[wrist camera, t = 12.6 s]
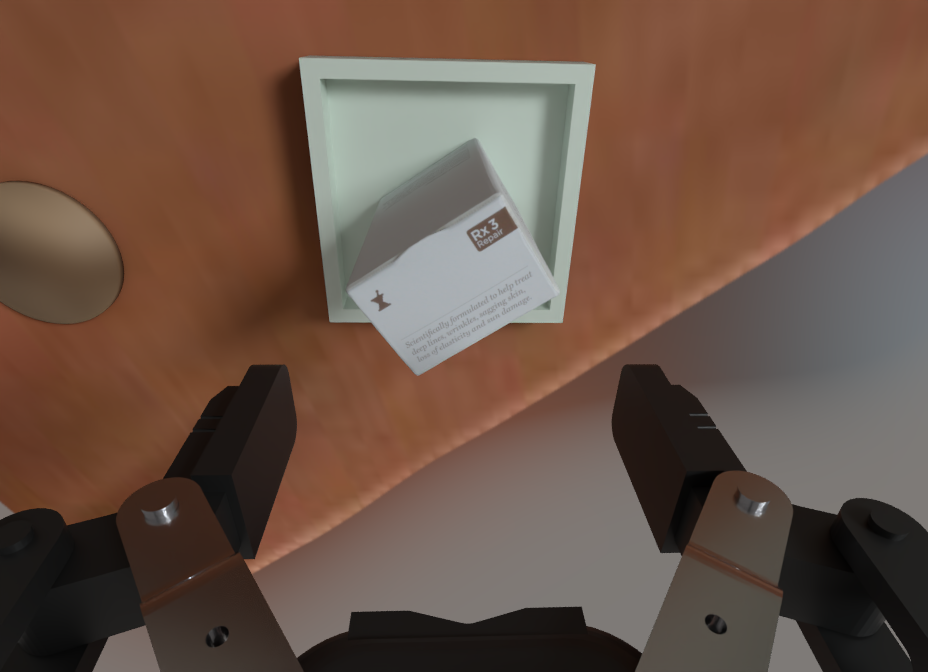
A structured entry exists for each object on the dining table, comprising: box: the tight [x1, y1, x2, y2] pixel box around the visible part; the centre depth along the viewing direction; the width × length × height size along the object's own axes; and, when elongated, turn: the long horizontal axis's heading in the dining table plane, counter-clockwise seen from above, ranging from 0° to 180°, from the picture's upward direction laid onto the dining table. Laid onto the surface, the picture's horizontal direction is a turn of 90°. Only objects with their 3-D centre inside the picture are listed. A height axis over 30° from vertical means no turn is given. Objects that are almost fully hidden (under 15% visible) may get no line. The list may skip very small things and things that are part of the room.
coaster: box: [0, 181, 124, 324], centre depth 29 cm, size 8×8×1 cm
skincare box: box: [346, 138, 560, 375], centre depth 23 cm, size 6×4×12 cm
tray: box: [299, 56, 596, 323], centre depth 28 cm, size 13×13×2 cm
